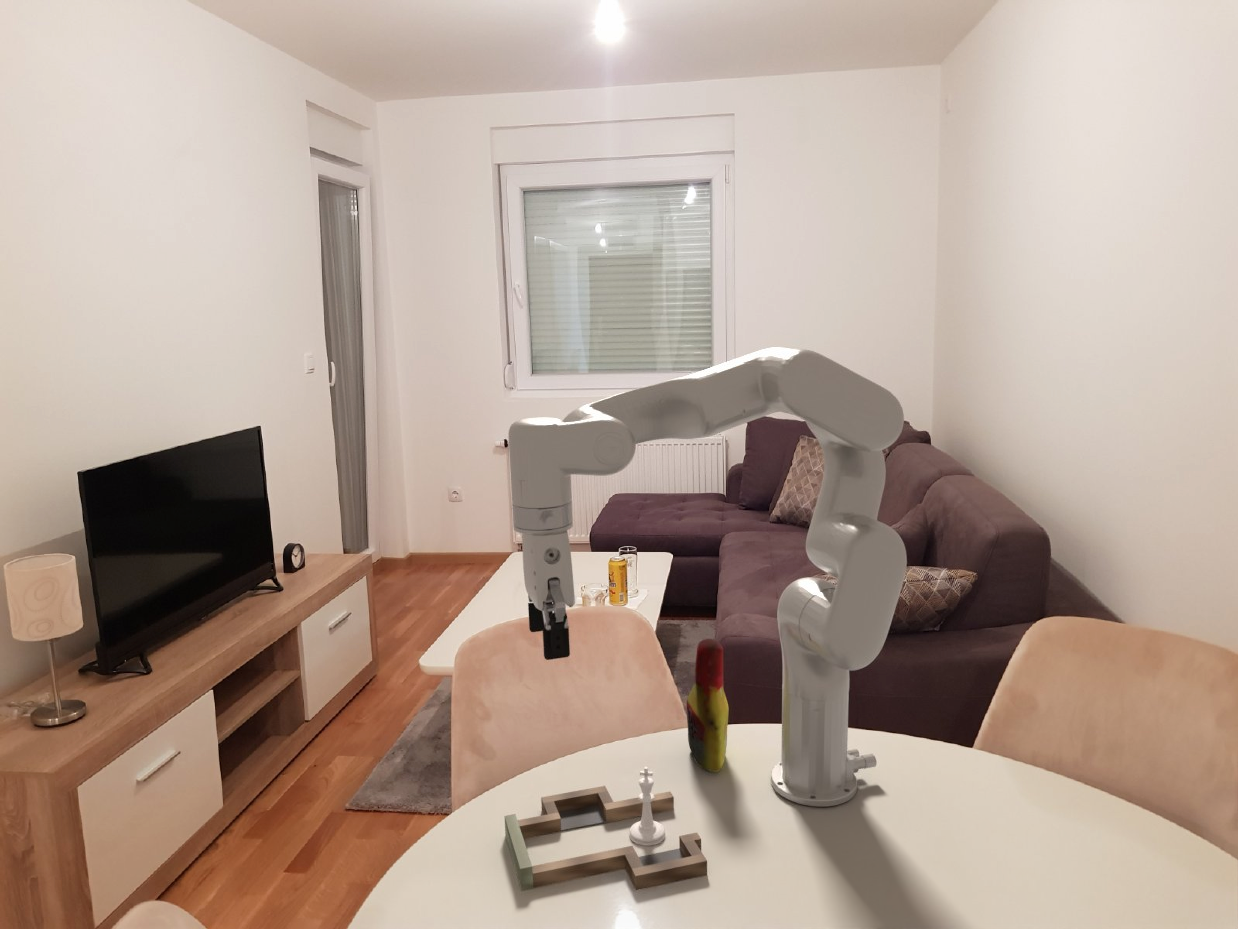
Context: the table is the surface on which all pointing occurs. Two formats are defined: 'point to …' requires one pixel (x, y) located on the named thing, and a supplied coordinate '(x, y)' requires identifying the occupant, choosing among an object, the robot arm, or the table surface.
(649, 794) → the chess piece
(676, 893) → the table surface
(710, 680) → the bottle
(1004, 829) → the table surface
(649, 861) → the trap lane
